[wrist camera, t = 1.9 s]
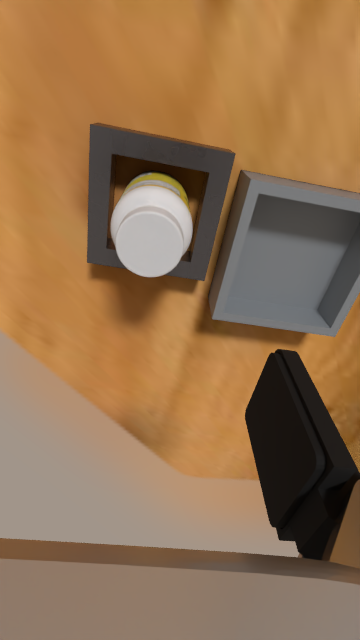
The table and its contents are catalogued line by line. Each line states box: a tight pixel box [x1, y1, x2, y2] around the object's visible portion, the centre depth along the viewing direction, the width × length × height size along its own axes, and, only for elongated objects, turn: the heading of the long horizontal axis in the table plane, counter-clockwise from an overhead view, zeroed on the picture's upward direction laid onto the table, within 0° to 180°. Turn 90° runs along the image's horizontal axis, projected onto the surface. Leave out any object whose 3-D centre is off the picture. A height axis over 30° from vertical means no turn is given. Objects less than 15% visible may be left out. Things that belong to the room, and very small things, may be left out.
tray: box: [208, 170, 360, 337], centre depth 27 cm, size 12×12×4 cm
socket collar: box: [87, 123, 235, 281], centre depth 26 cm, size 10×10×2 cm
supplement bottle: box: [111, 171, 193, 277], centre depth 22 cm, size 5×5×10 cm
